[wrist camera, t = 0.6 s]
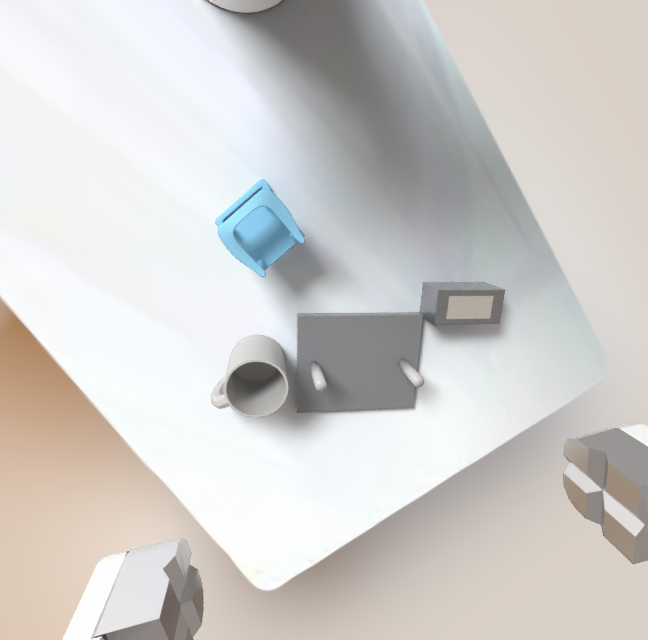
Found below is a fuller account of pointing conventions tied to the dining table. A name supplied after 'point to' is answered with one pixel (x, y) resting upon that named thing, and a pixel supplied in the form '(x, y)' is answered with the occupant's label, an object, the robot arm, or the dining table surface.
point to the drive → (461, 303)
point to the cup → (253, 378)
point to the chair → (258, 229)
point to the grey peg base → (357, 361)
